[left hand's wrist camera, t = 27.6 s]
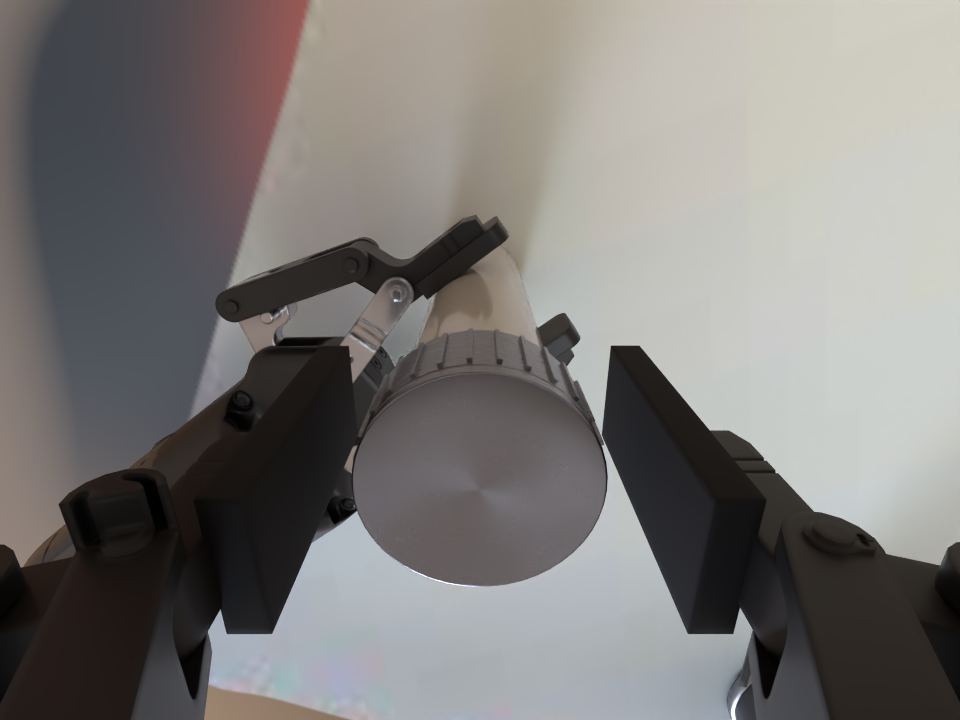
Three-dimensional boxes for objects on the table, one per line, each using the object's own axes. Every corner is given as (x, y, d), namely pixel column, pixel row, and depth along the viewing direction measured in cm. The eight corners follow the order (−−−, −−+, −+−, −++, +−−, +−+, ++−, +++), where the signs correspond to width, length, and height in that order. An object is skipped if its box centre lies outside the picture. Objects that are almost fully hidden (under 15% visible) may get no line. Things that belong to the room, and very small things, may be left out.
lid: (326, 407, 12) (291, 466, 10) (505, 280, 11) (512, 313, 9) (458, 547, 14) (454, 625, 11) (627, 448, 12) (660, 512, 10)
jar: (508, 230, 26) (552, 350, 10) (527, 307, 27) (592, 516, 11) (429, 252, 26) (354, 401, 10) (452, 327, 27) (417, 555, 12)
